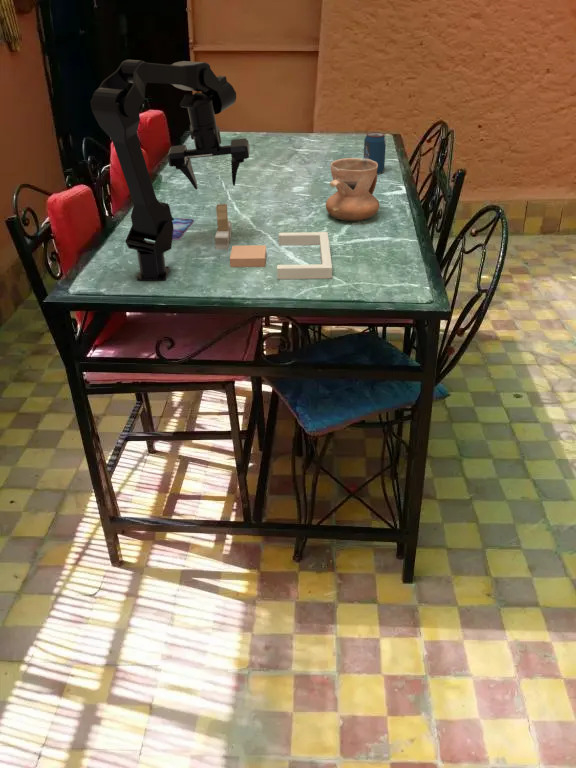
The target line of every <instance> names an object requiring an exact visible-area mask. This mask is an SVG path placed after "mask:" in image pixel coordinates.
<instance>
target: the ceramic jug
mask: <svg viewBox="0 0 576 768" xmlns="http://www.w3.org/2000/svg"><path fill="white" fill-rule="evenodd" d="M377 168H378V164H377V162H375V161H372V160H370V159H364V157H363V158H362V157H346V158H340V159H336V160H334V161H332V162H331V163H330V172H331V176H332V177H331V178H332V179H333V180H331V181H330V182H329V186H330V187H332V188H336V190H337V191H335V193H333V194H332V195H330V196H329V197H328V198H327V200H326V203H325V208H326V211H327V213H328V214H329V215H330V216H331V217H333V218H334V219H338V220H341V221H345V222H346V221H349V222H357V221H358V222H359V221H364V220H367V219H370V218H372V217H374V216H375V215H377V213H378V212H379V210H380V202H379V200H378V199H377V197H375V195H373V194H374V192H375V189H376V186H377V182H378V174H377Z"/></svg>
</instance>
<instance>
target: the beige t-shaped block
mask: <svg viewBox="0 0 576 768" xmlns="http://www.w3.org/2000/svg"><path fill="white" fill-rule="evenodd" d="M215 209H216V210H215V211H216V221H217V230H216V233H215V236H214V245H215V250H229V245H230V243H229V242H230V241H231V237H232V234H231V233H233V227H232V221H231V220H229V215H228V213H229V212H228V204H227V203H225V204H222V203H221V204H220V203H217V204H216V206H215Z"/></svg>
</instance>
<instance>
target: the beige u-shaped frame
mask: <svg viewBox="0 0 576 768" xmlns="http://www.w3.org/2000/svg"><path fill="white" fill-rule="evenodd" d="M328 234H329V233H328V231H320V232H319V231H315V232H312V231H311V232H308V231H307V232H306V231H305V232H302V231H301V232H299V231H297V232H279V233H278V246H319V252H320V254H319V256H320V263H319V264H315V263H314V264H277V266H276V269H277V270H276V272H277V273H276V274H277V280H309V279H310V280H312V279H313V280H314V279H321V280H322V279H326V280H327V279H329V280H330V279H332V278H333V266H332V265H333V264H332V257H331V249H330V241H329V235H328Z"/></svg>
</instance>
